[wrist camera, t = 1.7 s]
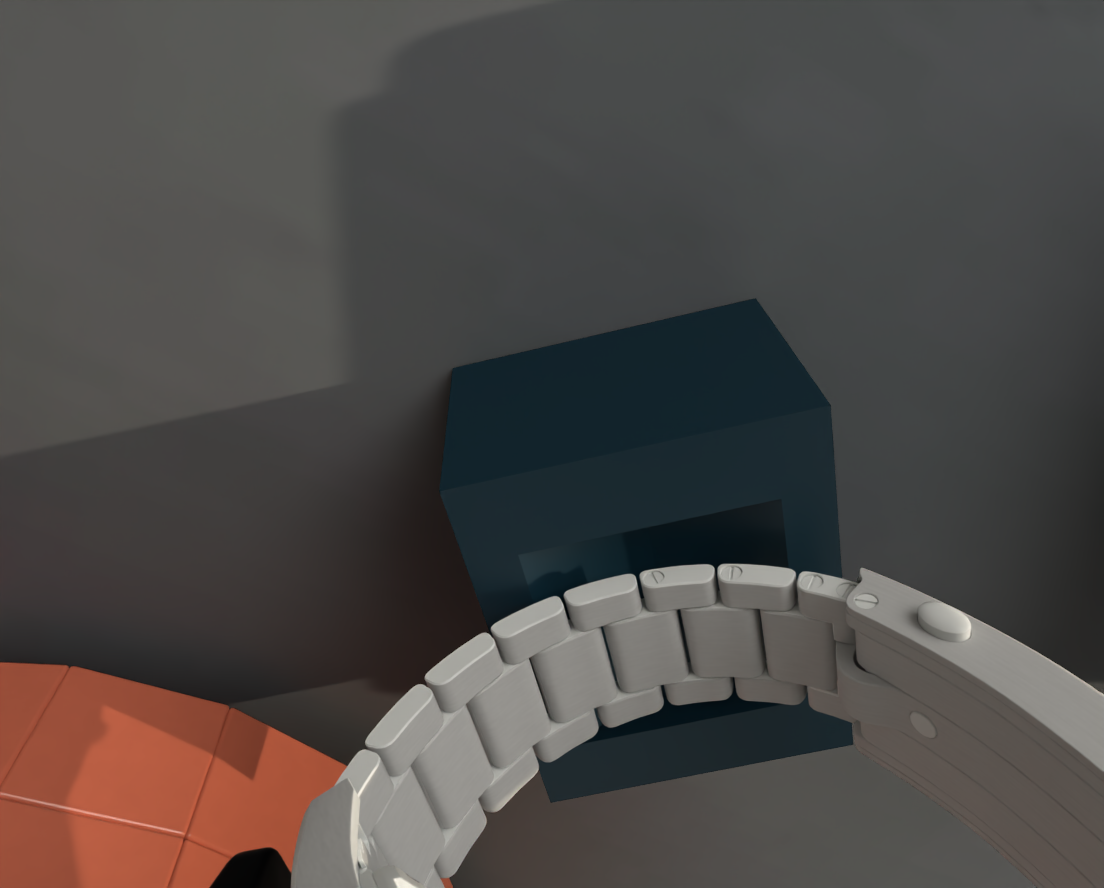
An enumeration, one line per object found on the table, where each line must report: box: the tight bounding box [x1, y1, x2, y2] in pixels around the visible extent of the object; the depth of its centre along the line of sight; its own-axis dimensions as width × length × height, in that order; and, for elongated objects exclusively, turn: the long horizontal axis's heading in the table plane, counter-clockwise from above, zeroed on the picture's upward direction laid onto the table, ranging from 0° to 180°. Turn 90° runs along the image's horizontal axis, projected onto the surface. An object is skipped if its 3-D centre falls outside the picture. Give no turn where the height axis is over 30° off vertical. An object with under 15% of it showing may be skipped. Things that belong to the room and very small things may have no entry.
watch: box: [291, 298, 1104, 888], centre depth 9 cm, size 6×8×11 cm
